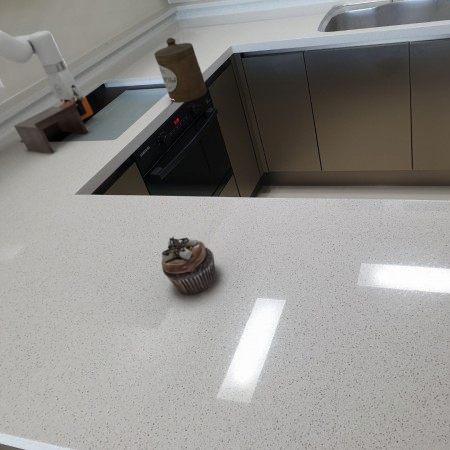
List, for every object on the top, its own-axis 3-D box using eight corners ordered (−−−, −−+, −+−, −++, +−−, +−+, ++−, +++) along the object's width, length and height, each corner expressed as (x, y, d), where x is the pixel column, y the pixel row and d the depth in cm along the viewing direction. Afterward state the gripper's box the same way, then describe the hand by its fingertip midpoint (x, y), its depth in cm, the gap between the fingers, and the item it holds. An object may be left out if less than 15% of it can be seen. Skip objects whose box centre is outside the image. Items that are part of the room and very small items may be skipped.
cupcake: (219, 292, 85) (203, 251, 80) (168, 302, 86) (148, 262, 80) (221, 259, 93) (207, 220, 87) (175, 269, 93) (157, 230, 88)
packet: (67, 123, 176) (58, 105, 172) (85, 113, 182) (77, 96, 178) (75, 123, 174) (66, 106, 170) (93, 113, 180) (85, 96, 176)
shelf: (28, 150, 165) (11, 121, 158) (64, 130, 176) (50, 102, 169) (51, 153, 158) (35, 123, 152) (88, 132, 169) (74, 103, 162)
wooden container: (167, 96, 186) (146, 41, 173) (201, 85, 190) (184, 30, 177) (175, 106, 174) (154, 47, 162) (211, 94, 178) (194, 35, 166)
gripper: (32, 71, 168) (57, 117, 179) (61, 71, 160) (84, 119, 171) (50, 64, 173) (72, 109, 184) (78, 63, 165) (100, 111, 176)
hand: (78, 114), depth 177 cm, fingers closed on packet, 5 cm apart
